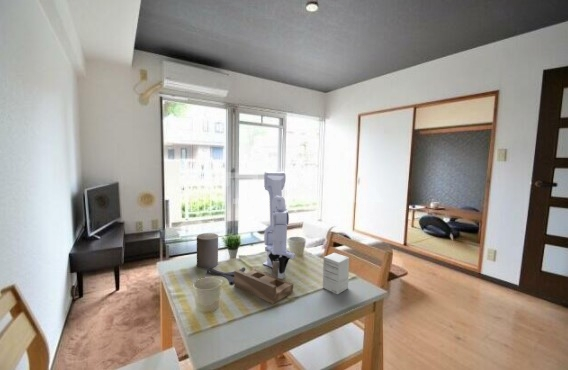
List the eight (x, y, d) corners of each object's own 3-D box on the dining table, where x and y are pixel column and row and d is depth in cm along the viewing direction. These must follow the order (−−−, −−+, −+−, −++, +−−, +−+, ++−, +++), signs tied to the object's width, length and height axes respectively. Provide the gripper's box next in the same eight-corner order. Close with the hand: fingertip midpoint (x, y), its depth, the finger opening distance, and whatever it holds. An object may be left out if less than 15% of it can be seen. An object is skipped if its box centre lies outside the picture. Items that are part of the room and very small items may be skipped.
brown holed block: (255, 275, 112) (255, 262, 112) (292, 291, 100) (293, 276, 99) (234, 285, 103) (234, 270, 103) (273, 304, 91) (273, 287, 90)
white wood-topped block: (281, 274, 114) (282, 256, 114) (287, 276, 113) (287, 258, 112) (272, 279, 110) (272, 260, 109) (277, 281, 108) (278, 262, 107)
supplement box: (332, 281, 108) (334, 252, 107) (348, 288, 103) (350, 257, 102) (321, 287, 103) (323, 256, 102) (337, 295, 98) (339, 262, 97)
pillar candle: (192, 267, 119) (192, 235, 118) (203, 259, 129) (203, 229, 127) (212, 270, 117) (212, 237, 116) (221, 261, 127) (222, 231, 125)
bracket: (214, 267, 121) (214, 261, 121) (245, 270, 119) (245, 264, 118) (198, 282, 107) (198, 275, 107) (233, 286, 104) (233, 279, 104)
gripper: (260, 238, 110) (259, 269, 112) (287, 246, 101) (286, 280, 103) (271, 234, 116) (270, 264, 117) (298, 241, 107) (297, 274, 108)
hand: (279, 271), depth 110 cm, fingers closed on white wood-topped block, 3 cm apart
